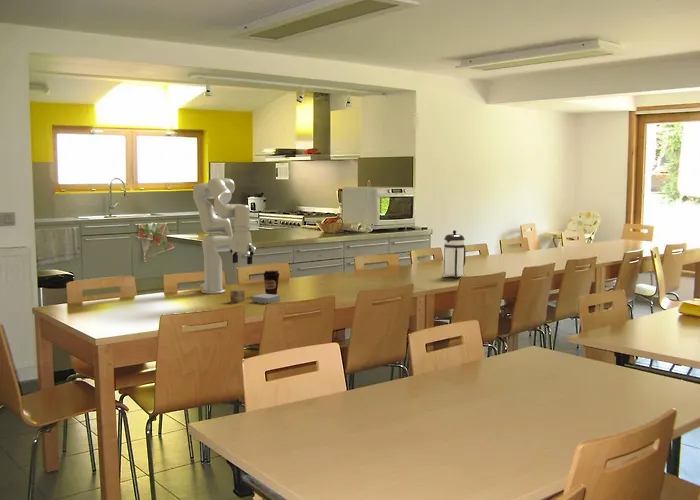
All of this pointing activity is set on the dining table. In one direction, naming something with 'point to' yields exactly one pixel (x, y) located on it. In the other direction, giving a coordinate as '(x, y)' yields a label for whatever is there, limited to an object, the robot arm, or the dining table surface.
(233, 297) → the walnut block
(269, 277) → the coffee cup
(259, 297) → the plinth
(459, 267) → the coffee press
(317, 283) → the dining table surface
